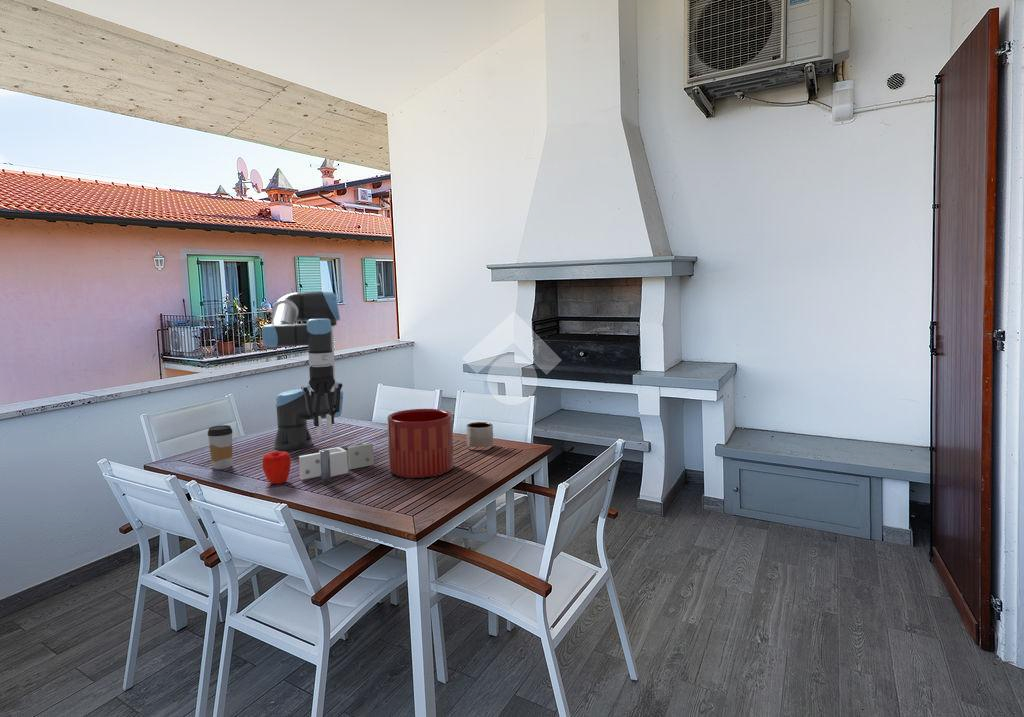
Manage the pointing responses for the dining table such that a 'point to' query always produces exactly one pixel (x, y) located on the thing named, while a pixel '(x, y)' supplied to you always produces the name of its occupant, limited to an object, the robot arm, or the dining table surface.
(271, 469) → the apple
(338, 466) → the fixed hinge
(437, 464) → the planter
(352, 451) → the loose leaf
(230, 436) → the coffee cup
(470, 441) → the planter
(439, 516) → the dining table surface
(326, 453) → the pin
